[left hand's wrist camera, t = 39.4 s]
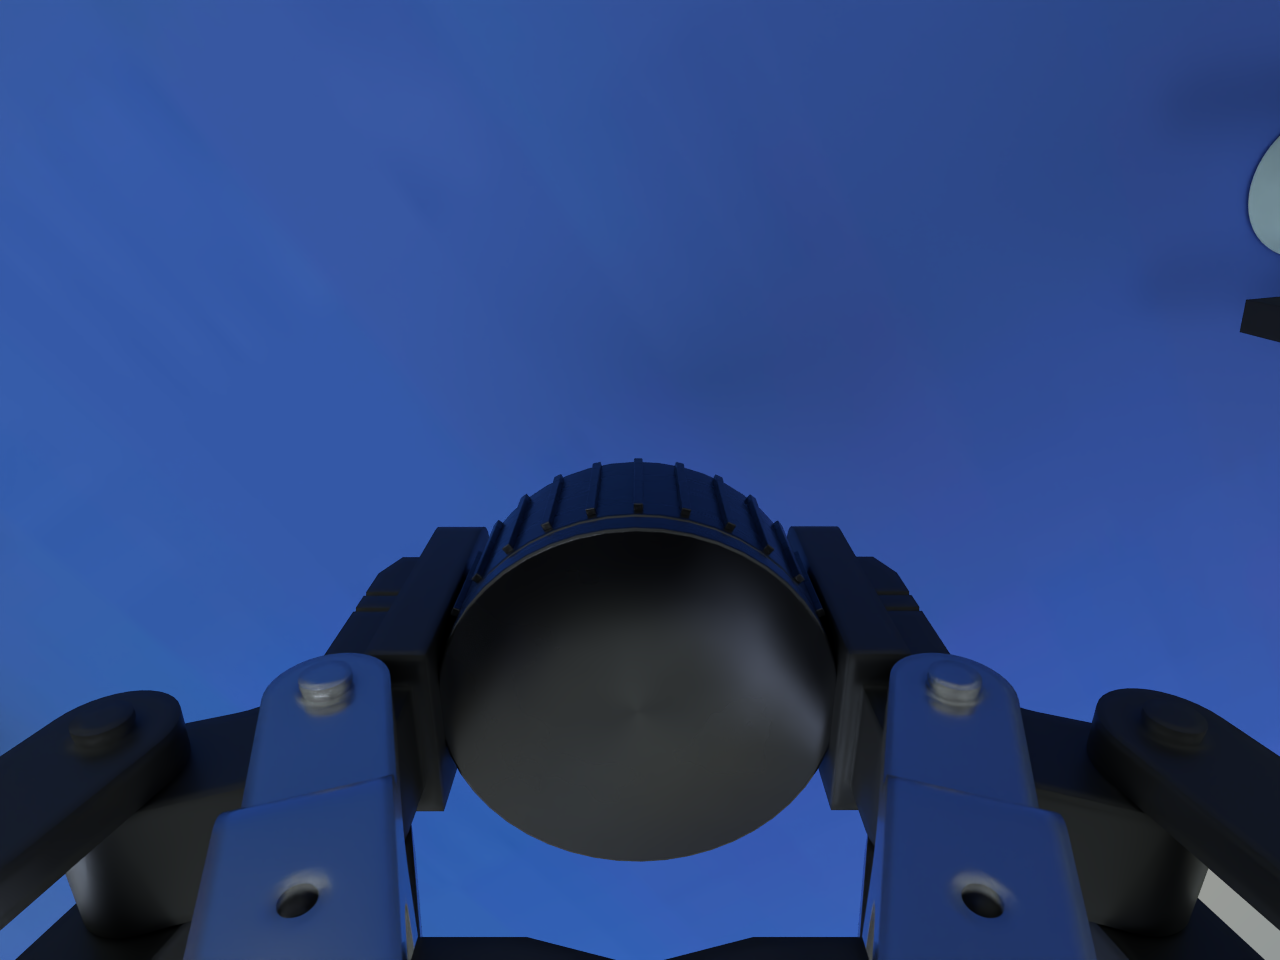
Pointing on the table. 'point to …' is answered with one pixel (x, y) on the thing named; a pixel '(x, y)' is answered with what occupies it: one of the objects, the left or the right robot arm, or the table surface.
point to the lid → (637, 666)
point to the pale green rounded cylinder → (1267, 198)
